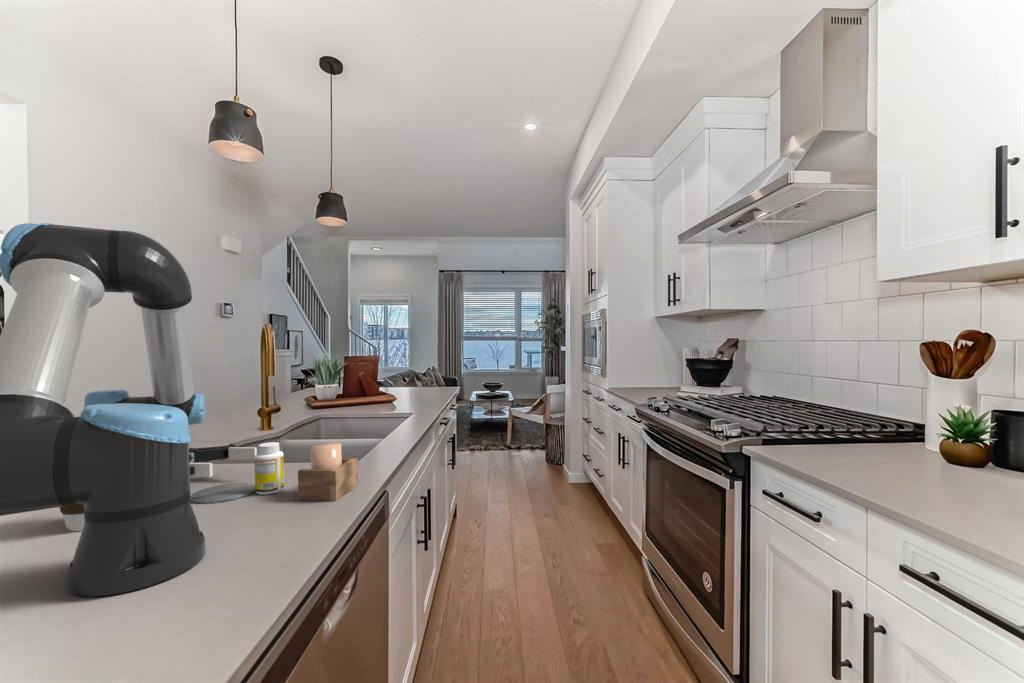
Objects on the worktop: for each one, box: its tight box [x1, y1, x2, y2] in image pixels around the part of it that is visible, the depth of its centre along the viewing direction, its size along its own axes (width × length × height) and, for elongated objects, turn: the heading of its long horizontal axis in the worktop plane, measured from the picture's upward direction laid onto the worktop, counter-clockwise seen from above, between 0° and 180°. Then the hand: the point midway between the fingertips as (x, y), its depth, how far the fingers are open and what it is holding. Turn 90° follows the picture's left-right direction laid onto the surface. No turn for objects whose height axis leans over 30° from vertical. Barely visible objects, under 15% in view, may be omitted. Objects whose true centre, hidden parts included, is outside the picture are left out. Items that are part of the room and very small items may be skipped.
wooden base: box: [293, 457, 359, 502], centre depth 96 cm, size 10×9×6 cm
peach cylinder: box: [310, 441, 343, 469], centre depth 96 cm, size 6×6×10 cm
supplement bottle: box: [254, 441, 285, 496], centre depth 97 cm, size 6×6×10 cm
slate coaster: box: [190, 482, 256, 504], centre depth 96 cm, size 12×12×1 cm
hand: (235, 461), depth 99 cm, fingers open, 13 cm apart
